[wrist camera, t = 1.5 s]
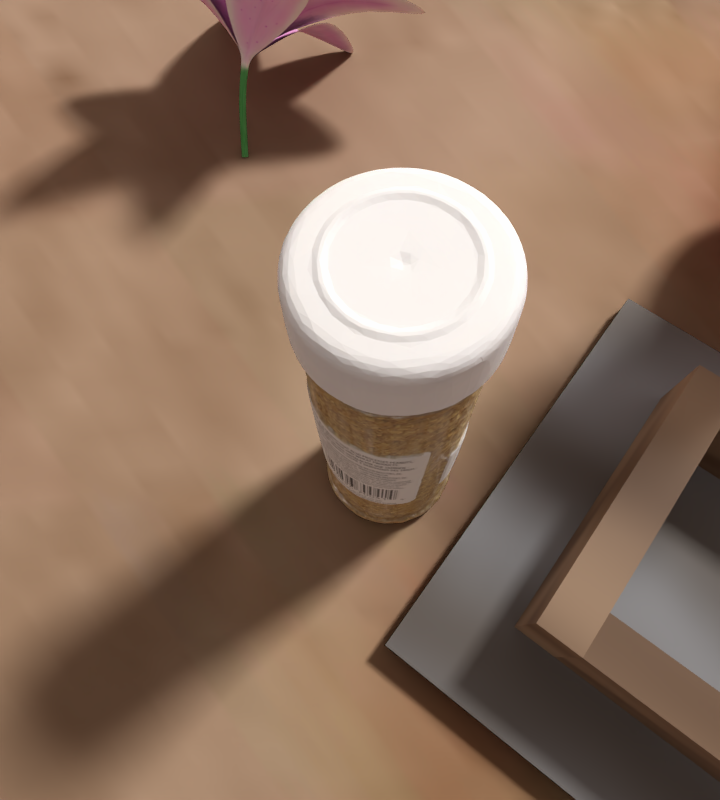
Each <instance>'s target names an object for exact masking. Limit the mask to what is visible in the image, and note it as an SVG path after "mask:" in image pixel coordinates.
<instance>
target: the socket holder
mask: <svg viewBox="0 0 720 800" xmlns="http://www.w3.org/2000/svg"><path fill="white" fill-rule="evenodd" d="M385 646H386V647H388V648H389V649H390V650H391V651H393V652H394V653H395V654H396V655H397V656H399V657H400V658H401V659H402V660H404V661H405V662H406V663H407V664H409V665H410V666H411V667H412V668H414V669H415V670H416V671H417V672H418V673H420V674H421V675H422V676H423V677H425V678H426V679H427V680H428V681H430V682H431V683H432V684H433V685H435V686H436V687H437V688H438V689H439V690H441V691H442V692H443V693H444V694H446V695H447V696H448V697H449V698H451V699H452V700H453V701H454V702H455V703H457V704H458V705H459V706H460V707H462V708H463V709H464V710H465V711H467V712H468V713H469V714H470V715H472V716H473V717H474V718H475V719H476V720H478V721H479V722H480V723H481V724H483V725H484V726H485V727H486V728H488V729H489V730H490V731H491V732H493V733H494V734H495V735H496V736H497V737H499V738H500V739H501V740H502V741H504V742H505V743H506V744H507V745H509V746H510V747H511V748H512V749H514V750H515V751H516V752H517V753H518V754H520V755H521V756H522V757H523V758H525V759H526V760H527V761H528V762H530V763H531V764H532V765H533V766H535V767H536V768H537V769H538V770H539V771H541V772H542V773H543V774H544V775H546V776H547V777H548V778H549V779H551V780H552V781H553V782H554V783H556V784H557V785H558V786H559V787H560V788H562V789H563V790H564V791H565V792H567V793H568V794H569V795H570V796H572V797H573V798H574V799H575V800H720V352H718V351H716V350H715V349H713V348H711V347H710V346H708V345H706V344H705V343H703V342H701V341H699V340H698V339H696V338H694V337H693V336H691V335H689V334H688V333H686V332H684V331H682V330H681V329H679V328H677V327H676V326H674V325H672V324H671V323H669V322H667V321H665V320H664V319H662V318H660V317H659V316H657V315H655V314H654V313H652V312H650V311H648V310H647V309H645V308H643V307H642V306H640V305H638V304H637V303H635V302H633V301H632V300H630V299H628V300H627V301H626V303H625V304H624V305H623V307H622V308H621V309H620V311H619V312H618V314H617V315H616V317H615V318H614V319H613V321H612V322H611V324H610V325H609V327H608V328H607V329H606V331H605V332H604V334H603V335H602V337H601V338H600V339H599V341H598V342H597V344H596V345H595V347H594V348H593V349H592V351H591V352H590V354H589V355H588V356H587V358H586V359H585V361H584V362H583V364H582V365H581V366H580V368H579V369H578V371H577V372H576V374H575V375H574V376H573V378H572V379H571V381H570V382H569V384H568V385H567V386H566V388H565V389H564V391H563V392H562V394H561V395H560V396H559V398H558V399H557V401H556V402H555V404H554V405H553V406H552V408H551V409H550V411H549V412H548V413H547V415H546V416H545V418H544V419H543V421H542V422H541V423H540V425H539V426H538V428H537V429H536V431H535V432H534V433H533V435H532V436H531V438H530V439H529V441H528V442H527V443H526V445H525V446H524V448H523V449H522V451H521V452H520V453H519V455H518V456H517V458H516V459H515V460H514V462H513V463H512V465H511V466H510V468H509V469H508V470H507V472H506V473H505V475H504V476H503V478H502V479H501V480H500V482H499V483H498V485H497V486H496V488H495V489H494V490H493V492H492V493H491V495H490V496H489V498H488V499H487V500H486V502H485V503H484V505H483V506H482V508H481V509H480V510H479V512H478V513H477V515H476V516H475V517H474V519H473V520H472V522H471V523H470V525H469V526H468V527H467V529H466V530H465V532H464V533H463V535H462V536H461V537H460V539H459V540H458V542H457V543H456V545H455V546H454V547H453V549H452V550H451V552H450V553H449V555H448V556H447V557H446V559H445V560H444V562H443V563H442V565H441V566H440V567H439V569H438V570H437V572H436V573H435V574H434V576H433V577H432V579H431V580H430V582H429V583H428V584H427V586H426V587H425V589H424V590H423V592H422V593H421V594H420V596H419V597H418V599H417V600H416V602H415V603H414V604H413V606H412V607H411V609H410V610H409V612H408V613H407V614H406V616H405V617H404V619H403V620H402V621H401V623H400V624H399V626H398V627H397V629H396V630H395V631H394V633H393V634H392V636H391V637H390V639H389V640H388V641H387V643H386V644H385Z"/></svg>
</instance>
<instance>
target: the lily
mask: <svg viewBox="0 0 720 800" xmlns="http://www.w3.org/2000/svg"><path fill="white" fill-rule="evenodd" d="M201 1H202V2H203V3H204V4H205V5H206V6H207V7H208V8H209V9H210V10H211V11H212V13H213V14H214V15H215V16H216V17H217V18H218V20H219V21H220V22H221V23H222V25H223V26H224V27H225V29H226V30H227V31H228V33H229V34H230V36H231V37H232V39H233V40H234V41H235V43H236V45H237V46H238V48H239V51H240V54H241V73H240V93H239V113H240V135H241V150H242V157H248V141H247V120H246V89H247V77H248V69H249V64H250V62H251V60H252V58H253V57H254V56H255V55H257V54H258V53H259V52H261V51H262V50H264V49H266V48H267V47H269V46H271V45H273V44H274V43H276V42H278V41H280V40H281V39H283V38H285V37H287V36H289V35H291V34H294V33H296V32H304V33H306V34H308V35H311V36H313V37H316V38H318V39H320V40H322V41H325V42H327V43H329V44H331V45H333V46H335V47H337V48H339V49H341V50H344V51H346V52H349V53H353V48H352V45H351V43H350V42H349V40H348V38H347V37H346V36H345V35H344V33H343V32H342V31H341V30H340V29H339V28H337V27H336V26H335V25H332V24H329V23H319V24H314V25H311V26H308V27H306V28H303V29H301V30H296V29H297V28H300V27H303V26H306V25H309V24H312V23H315V22H318V21H321V20H325V19H328V18H332V17H336V16H341V15H345V14H350V13H358V12H369V11H373V12H397V13H411V14H423V13H425V12H424V11H423V10H422V9H421V8H420V7H418V6H416V5H414V4H413V3H411V2H409V1H407V0H201Z"/></svg>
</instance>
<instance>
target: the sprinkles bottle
mask: <svg viewBox="0 0 720 800" xmlns="http://www.w3.org/2000/svg"><path fill="white" fill-rule="evenodd" d="M278 292H279V298H280V303H281V308H282V312H283V317H284V321H285V326H286V329H287V333H288V336H289V340H290V343H291V346H292V348H293V350H294V353H295V355H296V357H297V359H298V361H299V362H300V364H301V366H302V367H303V369H304V370H305V371H306V375H307V387H308V393H309V398H310V402H311V406H312V410H313V414H314V418H315V422H316V426H317V429H318V433H319V437H320V441H321V444H322V448H323V451H324V455H325V458H326V460H327V471H328V476H329V481H330V483H331V486H332V488H333V490H334V492H335V494H336V495H337V497H338V498H339V499H340V501H342V502H343V503H344V505H345V506H346V507H347V508H348V509H350V510H352V511H353V512H354V513H355V514H356V515H358V516H360V517H362V518H364V519H367V520H371V521H373V522H378V523H383V524H384V523H402V522H405V521H407V520H410V519H414V518H416V517H418V516H421V515H422V514H424V513H425V512H427V511H428V510H429V509H430V508H431V507H432V506H433V505H434V504H435V503H436V502H437V500H438V499H439V498H440V496H441V494H442V492H443V490H444V488H445V486H446V484H447V482H448V479H449V474H450V470H451V468H452V466H453V464H454V462H455V460H456V457H457V455H458V453H459V450H460V448H461V445H462V442H463V440H464V438H465V434H466V431H467V427H468V423H469V419H470V417H471V414H472V411H473V409H474V407H475V404H476V402H477V399H478V396H479V393H480V391H481V389H482V387H483V384H484V383H485V382H486V381H487V380H488V379H489V378H490V377H491V376H492V375H493V374H494V372H495V371H496V369H497V368H498V367H499V365H500V364H501V362H502V360H503V358H504V356H505V354H506V352H507V350H508V347H509V345H510V343H511V341H512V338H513V335H514V333H515V330H516V327H517V324H518V322H519V319H520V316H521V313H522V310H523V307H524V303H525V299H526V293H527V264H526V259H525V254H524V251H523V248H522V245H521V242H520V240H519V237H518V235H517V233H516V231H515V229H514V228H513V226H512V224H511V223H510V221H509V219H508V218H507V217H506V216H505V215H504V213H503V212H502V211H501V210H500V209H499V208H498V206H497V205H495V204H494V203H493V202H492V201H491V200H490V199H488V198H487V197H486V196H485V195H484V194H482V193H481V192H479V191H478V190H476V189H475V188H473V187H471V186H470V185H468V184H466V183H464V182H462V181H460V180H458V179H456V178H453V177H451V176H448V175H445V174H442V173H439V172H434V171H429V170H424V169H418V168H389V169H379V170H374V171H369V172H365V173H362V174H359V175H355V176H353V177H350V178H347V179H344V180H342V181H340V182H338V183H337V184H335V185H333V186H331V187H330V188H328V189H326V190H325V191H324V192H323V193H321V194H320V195H319V196H317V197H316V198H315V199H313V200H312V201H311V202H310V203H309V204H308V205H307V206H306V207H305V209H304V210H303V211H302V212H301V213H300V214H299V216H298V217H297V218H296V220H295V221H294V223H293V224H292V226H291V228H290V230H289V232H288V234H287V236H286V237H285V239H284V242H283V245H282V249H281V253H280V256H279V263H278Z"/></svg>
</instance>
